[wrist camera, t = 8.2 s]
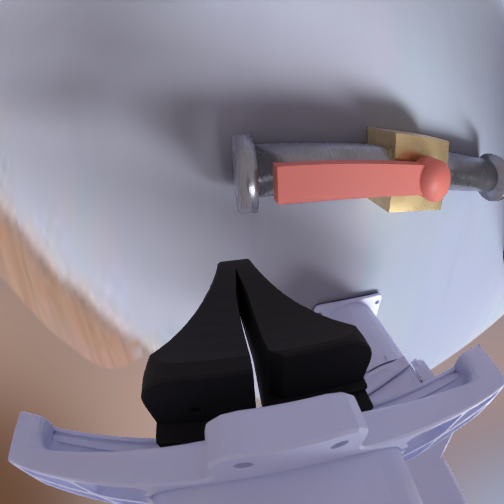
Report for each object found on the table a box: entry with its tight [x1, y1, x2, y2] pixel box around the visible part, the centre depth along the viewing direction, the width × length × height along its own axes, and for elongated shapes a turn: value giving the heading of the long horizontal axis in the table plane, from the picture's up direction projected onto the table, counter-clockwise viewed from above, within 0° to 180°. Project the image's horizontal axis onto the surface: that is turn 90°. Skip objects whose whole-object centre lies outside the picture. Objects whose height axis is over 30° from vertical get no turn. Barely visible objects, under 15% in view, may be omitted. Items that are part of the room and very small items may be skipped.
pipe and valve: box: [232, 127, 504, 214], centre depth 19 cm, size 6×28×5 cm, turn 93°
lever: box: [272, 156, 451, 205], centre depth 16 cm, size 14×3×1 cm, turn 94°
